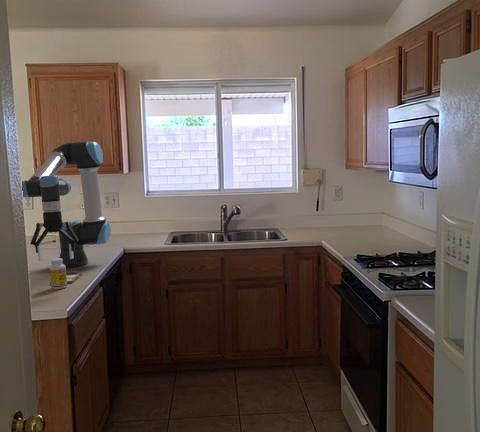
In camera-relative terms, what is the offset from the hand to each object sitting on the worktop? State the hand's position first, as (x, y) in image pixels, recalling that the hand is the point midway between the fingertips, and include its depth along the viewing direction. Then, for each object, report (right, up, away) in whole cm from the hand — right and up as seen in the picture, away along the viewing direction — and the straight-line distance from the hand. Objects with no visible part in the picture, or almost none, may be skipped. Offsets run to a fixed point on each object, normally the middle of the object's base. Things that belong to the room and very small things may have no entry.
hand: (56, 259), depth 227 cm
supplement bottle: (+1, -13, +2) cm, 13 cm away
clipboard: (-1, -11, +17) cm, 20 cm away
